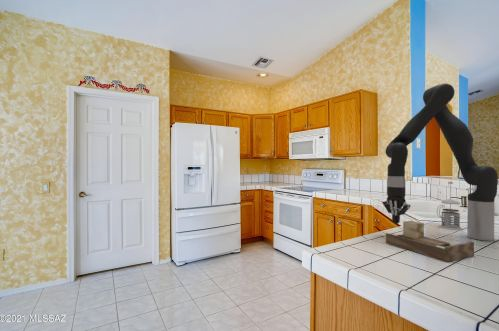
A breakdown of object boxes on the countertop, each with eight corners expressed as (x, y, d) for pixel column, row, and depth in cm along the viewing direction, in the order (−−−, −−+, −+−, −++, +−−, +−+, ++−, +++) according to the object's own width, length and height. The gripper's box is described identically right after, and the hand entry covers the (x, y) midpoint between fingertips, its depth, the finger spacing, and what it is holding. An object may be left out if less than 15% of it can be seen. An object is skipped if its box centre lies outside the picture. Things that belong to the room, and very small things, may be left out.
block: (411, 234, 116) (411, 220, 116) (423, 237, 111) (423, 223, 111) (403, 235, 113) (403, 221, 113) (415, 238, 108) (415, 224, 108)
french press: (467, 230, 133) (467, 182, 134) (444, 229, 134) (444, 181, 134) (452, 225, 143) (452, 181, 143) (431, 225, 143) (431, 180, 144)
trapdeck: (410, 238, 117) (410, 227, 117) (474, 255, 95) (474, 242, 95) (385, 242, 110) (386, 231, 110) (447, 262, 88) (448, 247, 88)
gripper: (415, 186, 115) (415, 225, 115) (388, 184, 127) (388, 219, 127) (404, 187, 112) (403, 227, 112) (378, 185, 124) (377, 221, 124)
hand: (395, 223), depth 120 cm, fingers closed
